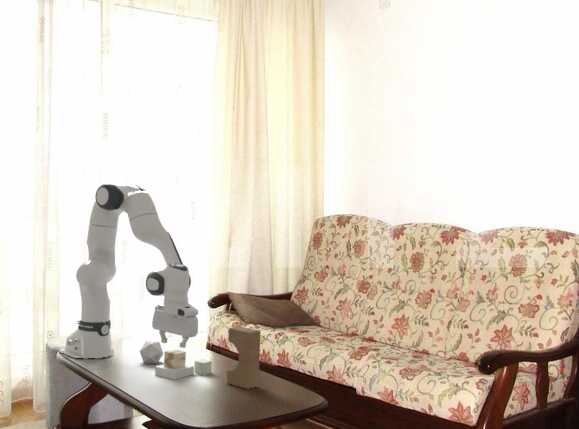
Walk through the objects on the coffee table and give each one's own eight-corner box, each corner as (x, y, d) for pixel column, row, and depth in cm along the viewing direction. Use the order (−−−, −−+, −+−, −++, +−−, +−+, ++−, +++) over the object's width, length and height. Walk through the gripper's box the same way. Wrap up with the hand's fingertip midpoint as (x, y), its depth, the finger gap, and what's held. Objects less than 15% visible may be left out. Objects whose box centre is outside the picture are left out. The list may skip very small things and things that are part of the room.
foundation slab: (155, 374, 268) (155, 366, 268) (173, 369, 277) (174, 361, 277) (175, 379, 263) (175, 371, 263) (193, 374, 271) (194, 366, 271)
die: (151, 368, 280) (167, 346, 283) (132, 355, 281) (148, 333, 284) (154, 370, 288) (169, 349, 291) (136, 358, 289) (151, 337, 292)
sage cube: (194, 373, 273) (194, 361, 273) (202, 370, 277) (202, 359, 277) (203, 375, 271) (203, 363, 271) (211, 372, 274) (211, 361, 274)
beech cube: (164, 366, 269) (164, 351, 269) (174, 363, 274) (174, 349, 273) (175, 369, 266) (175, 354, 266) (185, 366, 270) (185, 351, 270)
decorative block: (225, 383, 261) (227, 327, 260) (237, 380, 265) (239, 325, 264) (247, 390, 253) (249, 332, 252) (259, 387, 257) (261, 330, 257)
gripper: (149, 304, 272) (147, 341, 273) (189, 313, 260) (187, 351, 261) (161, 302, 277) (159, 338, 278) (201, 311, 265) (199, 348, 266)
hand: (173, 345), depth 269 cm, fingers open, 8 cm apart
